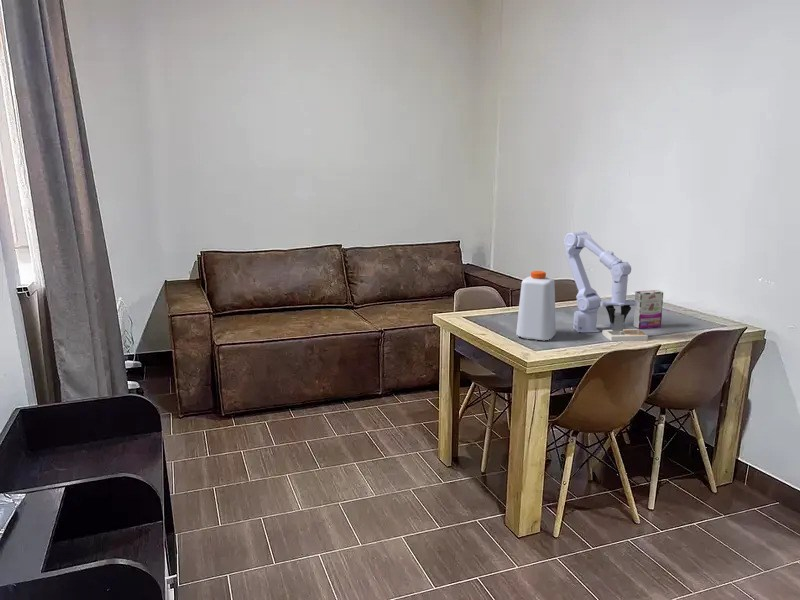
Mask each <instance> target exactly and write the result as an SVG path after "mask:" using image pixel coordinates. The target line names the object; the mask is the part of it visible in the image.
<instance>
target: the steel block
mask: <svg viewBox="0 0 800 600" xmlns="http://www.w3.org/2000/svg"><path fill="white" fill-rule="evenodd" d="M609 323H610V322H609ZM624 324H625V322H624V314H622V313H621V312H615V313H614V322H613V323H610V325H609V330H613V331H623V330H624Z"/></svg>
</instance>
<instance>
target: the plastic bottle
mask: <svg viewBox="0 0 800 600" xmlns="http://www.w3.org/2000/svg"><path fill="white" fill-rule="evenodd" d="M546 275H547V273H546V272H545V271H542V270H533V271H531V273H530V275H529V276H527V277H525V278H524V279H523V280H522V281H521V285H520V292H519V293H520V295H519V304H518V313H517V325H516V331H515V332H516V333H515V334H516V336H517V335H518V336H521V337H526V338H533V339H540V340H548V341H550V340H552V338H553V337H554V336H555V335H556V333H557V331H556V330H557V329H556V327H557V326H556V292H555V291H556V289H555V288H556V287H555V279H554V278H552V277H548V276H546ZM518 336H517V337H518ZM549 339H550V340H549Z"/></svg>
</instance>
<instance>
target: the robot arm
mask: <svg viewBox="0 0 800 600" xmlns="http://www.w3.org/2000/svg"><path fill="white" fill-rule="evenodd" d="M562 242H563V244H564V248H565V249H564V250H565V257H566V259H567V262H568V266H569V269H570V271H571V273H572V277H573V279H574V282H575V285H576V289H577V291H578V293H577V294H576V296H575V298H576V304H577V305H576V306H577V308H578V310H576V311H574V313H573V326H572V328H573V330H575V332H577V333H579V332H581V333H600V330H599V329H597V323H598V311H599V308H600V307H602V308H604V307H605V309H606V311H607V314H608V318H609V323H613V322H614V313H616V308H615V307H620V313H622V314H624V323H625V321H626V320H627V319H626V318H627V316H628V314H629V313H630V311H631V310H632V307H635V306H636V301H635V300H627V293H628V292H627V291H628V280H629V279H628V277H629V275H630V274H631V272H632V266H631V265H630V264H629V262H628V261H623V259H621V258H619V257H617V256H616V255H615V253H614V252H613V251H610V250H607V251H606V250H605V249H604V248H603V247H602V246H601V245H600V244H598V243H597V242H596V241H595V240H594V239H593V238H592V236H591V235H590V233H587V231H585V230H581V231H577V232H576V231H575V232H568V233H567V234H566V235H565V237H564V239H563V241H562ZM584 248H587V249H588V250H589V251H590V252H592V253H593V254H594V255H596V256H598V257H599V262H600V263H602V264H603V265H604V267H606V268H607V269H608V270H610V274H611V275H612V288H611V300H603V301H602V298H601V296H599V294H598V293H597V291H596V290H595V289H594V288H592V286H591V282H590V281H589V278H588V275H587V272H586V269H585V267H584V265H583V261H582V258H581V255H580V253H581V252H582V251H583V249H584Z"/></svg>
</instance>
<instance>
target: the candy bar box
mask: <svg viewBox="0 0 800 600" xmlns="http://www.w3.org/2000/svg"><path fill="white" fill-rule="evenodd" d="M634 301H636V306H634V310H633V324H632V326H633V327H634V328H635V329H638V330H643V329H644V330H645V329H657V328H661V327H662V319H663V318H662V316H663V303H664V302H663V301H664V291H661V290H659V289H654V290H652V289H651V290H641V291H640V290H639V291H635V294H634Z"/></svg>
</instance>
